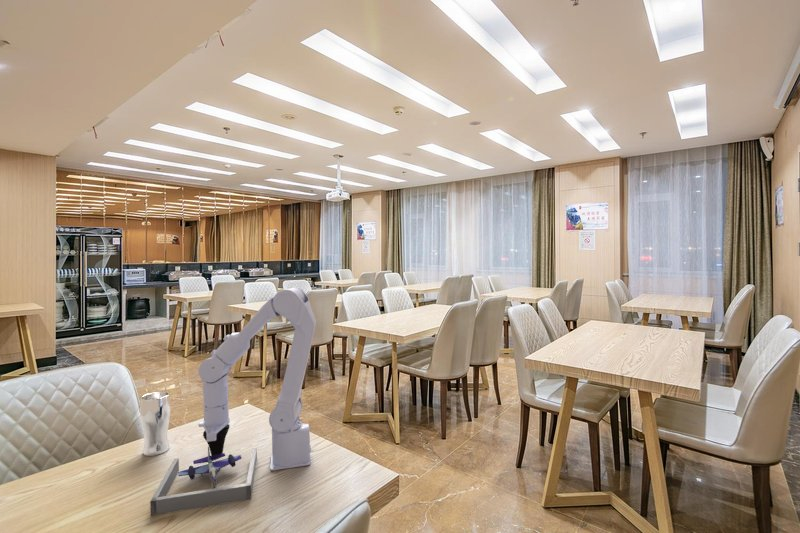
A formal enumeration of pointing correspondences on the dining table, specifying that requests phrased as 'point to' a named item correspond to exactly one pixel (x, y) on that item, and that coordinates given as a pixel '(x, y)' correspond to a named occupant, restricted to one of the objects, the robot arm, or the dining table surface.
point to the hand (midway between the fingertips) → (217, 456)
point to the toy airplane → (210, 466)
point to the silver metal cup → (155, 422)
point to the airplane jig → (199, 492)
